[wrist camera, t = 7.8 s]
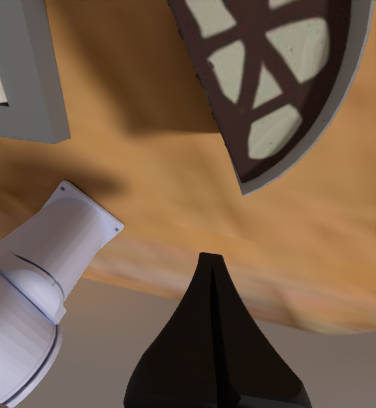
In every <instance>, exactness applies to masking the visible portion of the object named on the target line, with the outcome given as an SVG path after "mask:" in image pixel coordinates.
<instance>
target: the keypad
mask: <svg viewBox="0 0 376 408" xmlns="http://www.w3.org/2000/svg"><path fill="white" fill-rule="evenodd" d="M0 79H1V82H2V85H3V88H4V91H5V94H6V97H7V101H8V102H1V103H0V137H5V138H13V139H20V140H28V141H35V142H43V143H50V144H56V143H59V142H62V141H64V140H67V139H69V138H71V136H70V131H69V126H68V121H67V115H66V110H65V105H64V100H63V95H62V89H61V84H60V79H59V74H58V69H57V63H56V58H55V53H54V48H53V43H52V38H51V32H50V27H49V22H48V17H47V12H46V6H45V1H44V0H0Z"/></svg>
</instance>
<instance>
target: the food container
mask: <svg viewBox="0 0 376 408" xmlns="http://www.w3.org/2000/svg"><path fill="white" fill-rule="evenodd" d="M167 3H168V6H170V9H171V11H172V13H173V16H174V18H175V21H176V23H177V27H178V31H179V34H180V36H181V38H182V39H183V40H184V43H185V45H186V48H187V50H188V53H189V56H190V57H191V60H192V62H193V65H194V68H195V70H196V72H197V74H196V77H197V78H198V79H199V81H200V85H201V86H202V88H203V90H204V92H205V95H206V97H207V100H208V102H209V106H210V107H211V109H212V115H214V116H213V118H214V119H215V120H216V123H217V125H218V128H219V130H220V132H221V135H222V137H223V140H224V142H225V146H226V147H227V150H228V152H229V155H230V159H231V162H232V165H233V168H234V171H235V174H236V177H237V180H238V183H239V186H240V189H241V192H242V195H243V197H244V196H247V195H249V194H251V193H253V192H255V191H258V190H260V189H262V188H263V187H265V186H266V185H268V184H270V183H271V182H273V181H275V180H276V179H278V178H279V177H281V176H282V175H283V174H284V173H285V172H287V171H288V170H289V169H290V168H292V167H293V166H294V165H295V164H297V163H298V162H299V161H300V160H301V159H302V157H303V156H304V155H305V154H306V153H307V152H308V151H309V150H310V149H311V148H312V147H313V146H314V145H315V144H316V142H317V141H318V140H319V138H320V137H321V136H322V134H323V133H324V132H325V131H326V129H327V128H328V127H329V125H330V124H331V122H332V121H333V119H334V117H335V116H336V114H337V112H338V110H339V109H340V107H341V105H342V103H343V102H344V100H345V98H346V97H347V94H348V92H349V90H350V87H351V85H352V83H353V80H354V78H355V76H356V73H357V71H358V69H359V66H360V63H361V60H362V56H363V53H364V49H365V46H366V43H367V39H368V36H369V32H370V28H371V22H372V15H373V9H374V3H375V0H167Z"/></svg>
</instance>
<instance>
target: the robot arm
mask: <svg viewBox="0 0 376 408" xmlns="http://www.w3.org/2000/svg"><path fill="white" fill-rule="evenodd" d="M63 187H64V188H65V189H64V188H63ZM116 228H118V229H116ZM123 228H124V225H123V223H121V222H120V221H119V220H117V219H116V218H115V217H114V216H112V215H111V214H110V213H109V212H107V211H106V210H105V209H103V208H102V207H101V206H100V205H98V204H97V203H96V202H94V201H93V200H92V199H91V198H89V197H88V196H87V195H85V194H84V193H83V192H82V191H80V190H79V189H78V188H77V187H75V186H74V185H73V184H71V183H70V182H69V181H66V180H64V181H63V182H61V183H60V185H59V186H58V187H57V189H56V190H55V191H54V193H53V194H52V195H51V197H50V198H49V199H48V200H47V202H46V203H45V204H44V206H43V207H42V208H41V210H40V211H39V212H38V213H36V214H35V215H34V216H32V217H31V218H30V219H28V220H27V221H26V222H24V223H23V224H22V225H20V226H19V227H18V228H16V229H15V230H14V231H12V232H11V233H10V234H8V235H7V236H5V237H4V238H3V239H1V240H0V408H13V407H14V406H16V405H17V404H18V403H19V402H20V401H21V400H23V399H24V398H25V397H26V396H27V395H28V394H29V393H30V392H31V391H32V390H33V389H34V388H35V387H36V386H37V384H38V383H39V382H40V381H41V380H42V378H43V377H44V376H45V374H46V373H47V372H48V370H49V369H50V367H51V365H52V364H53V362H54V360H55V358H56V356H57V354H58V352H59V349H60V346H61V343H62V337H63V331H62V327H61V325H60V324H59V322H60V320H61V319H62V317H63V315H64V313H65V312H66V309H65V308H64V306H63V302H64V301H65V299H66V298H67V296H68V295H69V293H70V292H71V290H72V288H73V287H74V286H75V284H76V283H77V281H78V280H79V278H80V277H81V275H82V274H83V272H84V271H85V269H86V268H87V266H88V265H89V263H90V262H91V260H92V259H93V257H94V256H95V254H96V253H97V251H98V250H100V249H101V248H102V247H103V246H104V245H105V244H106V243H108V242H109V241H110V240H111V239H112V238H113V237H114V236H116V235H117V234H118V233H119V232H120V231H121V230H122V229H123ZM123 403H124V408H312V406H311V402H310V400H309V397H308V395H307V393H306V390H305V388H304V385H303V383H302V381H301V380H300V379H299V378H298V377H297V376H296V375H295V373H294V372H293V371H292V370H291V369H290V368H289V366H288V365H287V364H286V363H285V362H284V360H283V359H282V358H281V357H280V355H279V354H278V353H277V352H276V351H275V349H274V348H273V347H272V345H271V344H270V343H269V341H268V340H267V338H266V337H265V336H264V334H263V333H262V332H261V330H260V329H259V327H258V326H257V325H256V323H255V321H254V320H253V318H252V317H251V315H250V314H249V312H248V310H247V309H246V307H245V305H244V303H243V302H242V300H241V298H240V296H239V294H238V292H237V290H236V288H235V286H234V284H233V282H232V280H231V277H230V275H229V273H228V270H227V268H226V265H225V262H224V259H223V256H222V255H218V254H211V253H204V252H201V253H200V254H199V259H198V265H197V268H196V271H195V273H194V276H193V278H192V281H191V283H190V285H189V287H188V289H187V291H186V293H185V295H184V297H183V299H182V300H181V302H180V304H179V306H178V307H177V309H176V311H175V312H174V314H173V315H172V317H171V319H170V320H169V321H168V323H167V324H166V325H165V327H164V328H163V330H162V331H161V332H160V334H159V335H158V336H157V338H156V339H155V340H154V342H153V343H152V344H151V345H150V347H149V348H148V349H147V350H146V351H145V353H144V354H143V355H142V357H141V359H140V361H139V362H138V364H137V366H136V368H135V370H134V372H133V374H132V376H131V378H130V380H129V383H128V386H127V389H126V393H125V397H124V402H123Z"/></svg>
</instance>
